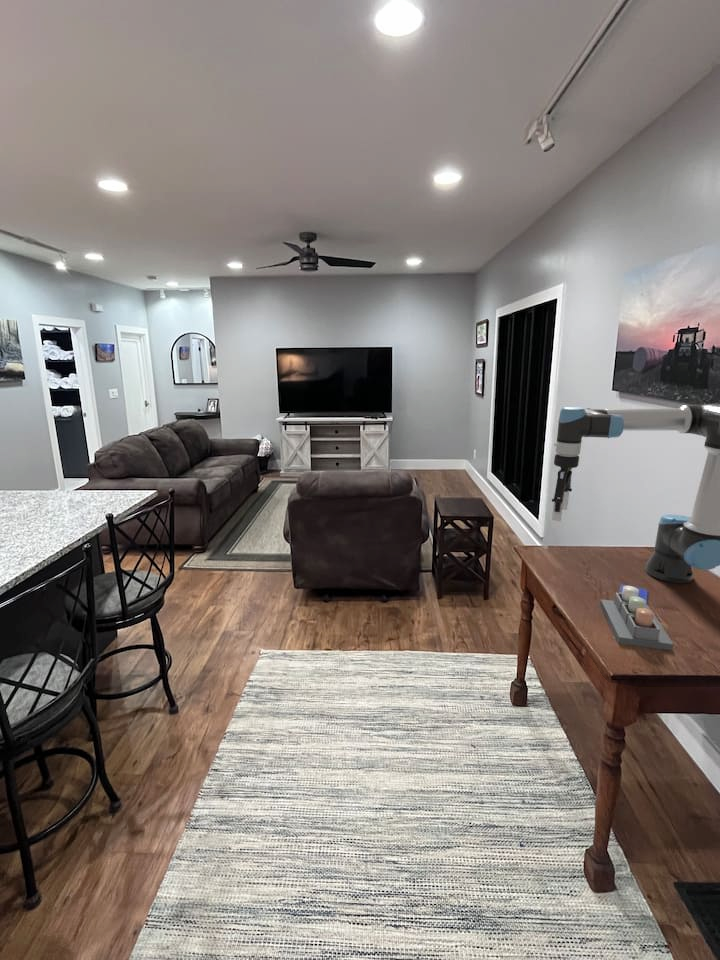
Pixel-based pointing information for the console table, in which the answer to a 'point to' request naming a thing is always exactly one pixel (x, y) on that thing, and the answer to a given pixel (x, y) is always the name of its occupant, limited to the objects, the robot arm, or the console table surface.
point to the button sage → (636, 604)
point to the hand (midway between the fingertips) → (559, 514)
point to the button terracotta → (644, 617)
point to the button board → (633, 626)
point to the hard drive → (642, 592)
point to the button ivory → (629, 593)
